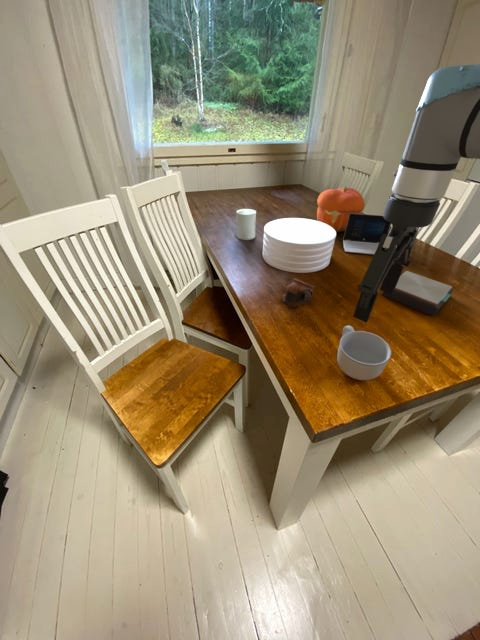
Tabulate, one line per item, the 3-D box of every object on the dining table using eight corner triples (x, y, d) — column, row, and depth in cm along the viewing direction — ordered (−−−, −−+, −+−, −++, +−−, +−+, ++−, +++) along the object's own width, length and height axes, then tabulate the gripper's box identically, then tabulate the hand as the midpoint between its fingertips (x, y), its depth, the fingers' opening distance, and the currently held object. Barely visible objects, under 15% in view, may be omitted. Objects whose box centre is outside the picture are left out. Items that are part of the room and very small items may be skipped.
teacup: (386, 387, 62) (400, 363, 57) (339, 386, 62) (348, 363, 57) (365, 345, 73) (375, 322, 68) (325, 344, 73) (331, 321, 68)
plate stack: (296, 238, 130) (300, 213, 122) (344, 261, 112) (351, 233, 104) (249, 252, 117) (250, 225, 110) (294, 280, 99) (298, 250, 92)
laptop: (344, 252, 118) (352, 222, 110) (342, 241, 127) (349, 213, 119) (388, 257, 115) (400, 226, 107) (383, 245, 125) (393, 216, 116)
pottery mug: (275, 297, 91) (285, 274, 89) (297, 304, 95) (307, 282, 93) (293, 309, 81) (305, 283, 79) (317, 317, 85) (329, 292, 83)
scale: (450, 297, 91) (456, 287, 89) (434, 317, 83) (441, 306, 80) (401, 278, 101) (405, 269, 98) (382, 295, 92) (386, 285, 89)
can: (233, 234, 133) (233, 208, 125) (250, 231, 136) (250, 206, 129) (241, 241, 126) (241, 214, 119) (258, 238, 130) (260, 212, 122)
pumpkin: (330, 240, 128) (341, 195, 116) (304, 224, 144) (310, 183, 132) (368, 233, 135) (381, 190, 123) (338, 219, 152) (348, 179, 139)
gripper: (414, 180, 53) (379, 276, 66) (359, 208, 39) (328, 323, 52) (458, 187, 49) (412, 288, 62) (416, 220, 35) (367, 342, 48)
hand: (374, 304), depth 57 cm, fingers open, 13 cm apart
